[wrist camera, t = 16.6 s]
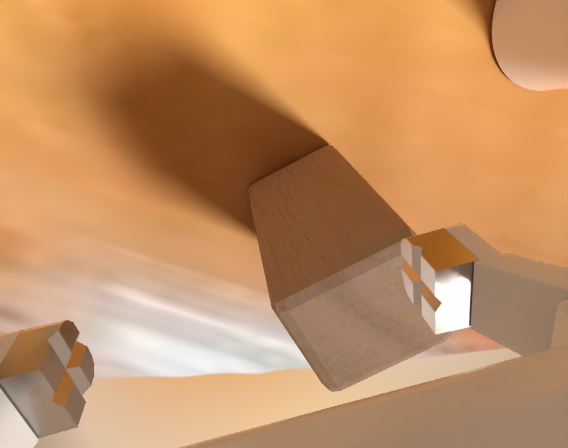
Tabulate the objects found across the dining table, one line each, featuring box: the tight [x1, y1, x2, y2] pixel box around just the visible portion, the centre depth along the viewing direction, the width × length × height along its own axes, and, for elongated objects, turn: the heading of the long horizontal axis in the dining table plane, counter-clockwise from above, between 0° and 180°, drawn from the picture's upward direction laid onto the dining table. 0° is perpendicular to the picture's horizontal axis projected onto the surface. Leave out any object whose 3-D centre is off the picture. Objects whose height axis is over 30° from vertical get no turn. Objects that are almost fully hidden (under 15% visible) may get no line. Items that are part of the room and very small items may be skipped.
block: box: [248, 146, 451, 392], centre depth 35 cm, size 10×10×20 cm
